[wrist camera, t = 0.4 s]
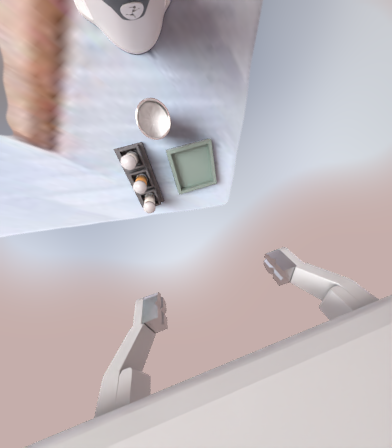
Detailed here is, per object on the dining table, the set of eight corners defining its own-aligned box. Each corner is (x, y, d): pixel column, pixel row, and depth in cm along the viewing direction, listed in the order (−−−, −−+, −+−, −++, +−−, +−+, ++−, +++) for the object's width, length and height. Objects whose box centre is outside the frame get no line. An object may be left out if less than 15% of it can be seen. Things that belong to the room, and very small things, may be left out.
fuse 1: (124, 152, 40) (117, 157, 33) (135, 149, 41) (131, 153, 33) (129, 164, 42) (124, 171, 35) (140, 161, 43) (138, 168, 35)
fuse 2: (143, 193, 48) (141, 204, 41) (152, 190, 48) (152, 201, 41) (147, 202, 50) (146, 214, 43) (156, 199, 50) (156, 211, 43)
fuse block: (114, 149, 40) (111, 150, 37) (141, 141, 41) (140, 142, 38) (142, 206, 51) (142, 210, 49) (163, 200, 52) (164, 204, 49)
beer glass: (155, 101, 37) (156, 86, 25) (171, 129, 41) (178, 127, 29) (135, 117, 38) (125, 111, 26) (152, 143, 42) (151, 148, 30)
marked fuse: (134, 175, 44) (130, 183, 37) (145, 172, 45) (143, 179, 37) (139, 185, 46) (136, 195, 39) (149, 182, 46) (148, 191, 39)
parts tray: (165, 150, 44) (166, 151, 41) (208, 138, 45) (211, 138, 42) (178, 191, 52) (179, 194, 49) (213, 180, 53) (216, 183, 50)
